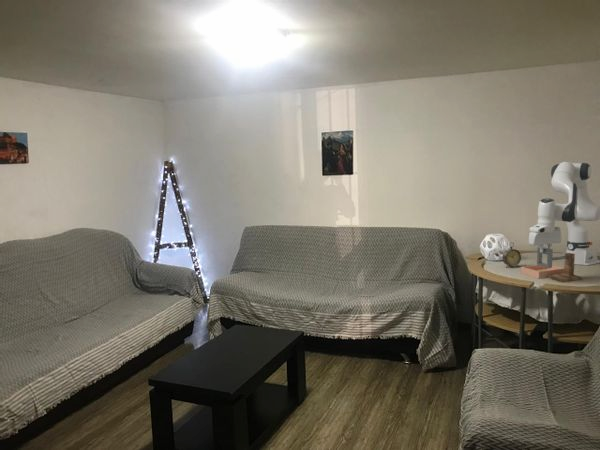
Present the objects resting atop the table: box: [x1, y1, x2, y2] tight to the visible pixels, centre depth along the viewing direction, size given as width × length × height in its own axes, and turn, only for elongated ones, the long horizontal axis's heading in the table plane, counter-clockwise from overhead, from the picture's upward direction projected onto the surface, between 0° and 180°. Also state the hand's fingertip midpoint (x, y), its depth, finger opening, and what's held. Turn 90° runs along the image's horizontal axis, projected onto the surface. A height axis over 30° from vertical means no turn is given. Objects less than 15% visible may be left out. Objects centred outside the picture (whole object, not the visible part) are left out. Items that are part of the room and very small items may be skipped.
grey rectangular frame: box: [536, 246, 554, 268], centre depth 271 cm, size 2×8×10 cm, turn 18°
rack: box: [547, 252, 582, 283], centre depth 276 cm, size 17×10×14 cm, turn 108°
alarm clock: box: [502, 241, 522, 269], centre depth 307 cm, size 11×5×16 cm, turn 101°
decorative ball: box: [479, 233, 512, 262], centre depth 329 cm, size 20×20×17 cm
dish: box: [520, 264, 564, 279], centre depth 288 cm, size 20×14×4 cm
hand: (544, 251), depth 270 cm, fingers closed on grey rectangular frame, 2 cm apart
